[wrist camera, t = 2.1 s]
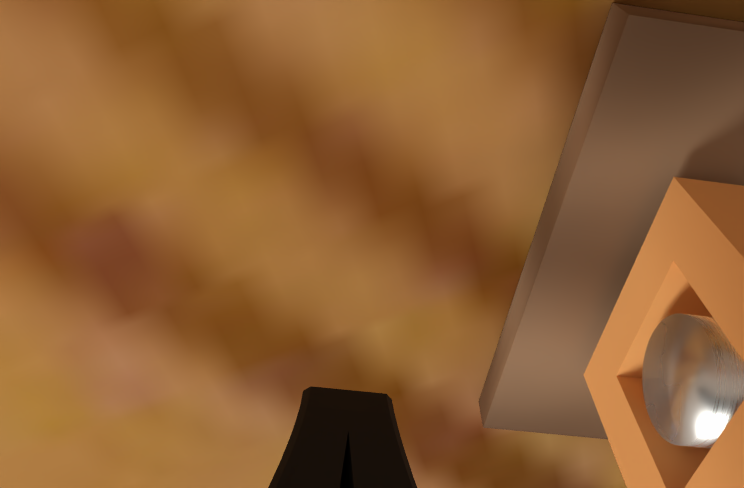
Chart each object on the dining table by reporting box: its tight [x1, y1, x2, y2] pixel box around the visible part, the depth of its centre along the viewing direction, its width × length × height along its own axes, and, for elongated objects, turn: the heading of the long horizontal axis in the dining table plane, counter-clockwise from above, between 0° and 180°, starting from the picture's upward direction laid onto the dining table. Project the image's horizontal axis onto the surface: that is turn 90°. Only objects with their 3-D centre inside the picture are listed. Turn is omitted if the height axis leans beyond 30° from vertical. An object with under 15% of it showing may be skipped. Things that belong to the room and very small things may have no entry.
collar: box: [584, 177, 744, 488], centre depth 13 cm, size 6×2×6 cm, turn 172°
